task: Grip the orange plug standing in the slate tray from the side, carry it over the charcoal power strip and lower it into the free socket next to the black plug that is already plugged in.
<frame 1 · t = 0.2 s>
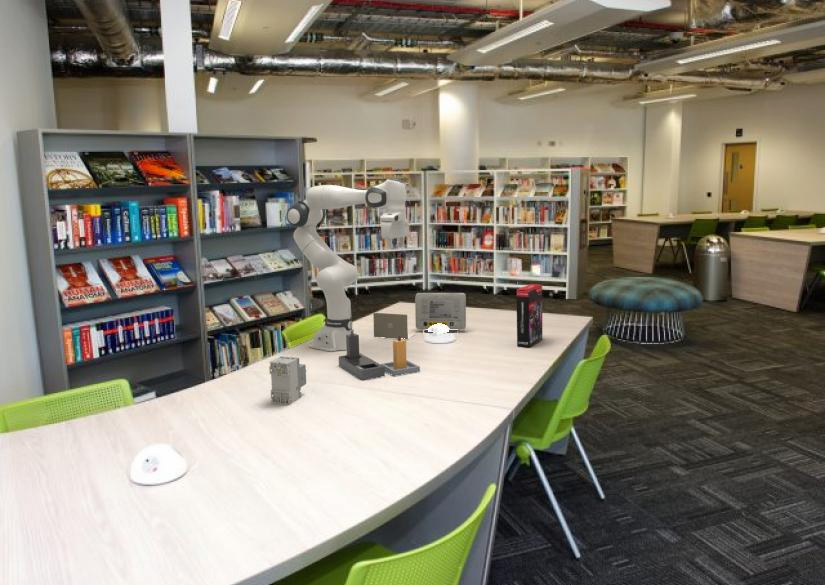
hand: (395, 248, 284), 48 cm above the table, tool pointing down, fingers open, 8 cm apart
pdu: (361, 370, 267), on the table
tray: (400, 370, 267), on the table
plug: (400, 368, 267), point 1 cm above the table, touching tray
laptop: (395, 336, 326), on the table
graphics card box: (529, 343, 306), on the table
circuit breaker: (290, 397, 237), on the table
network device: (440, 332, 332), on the table
twin plug: (353, 362, 274), point 1 cm above the table, touching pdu
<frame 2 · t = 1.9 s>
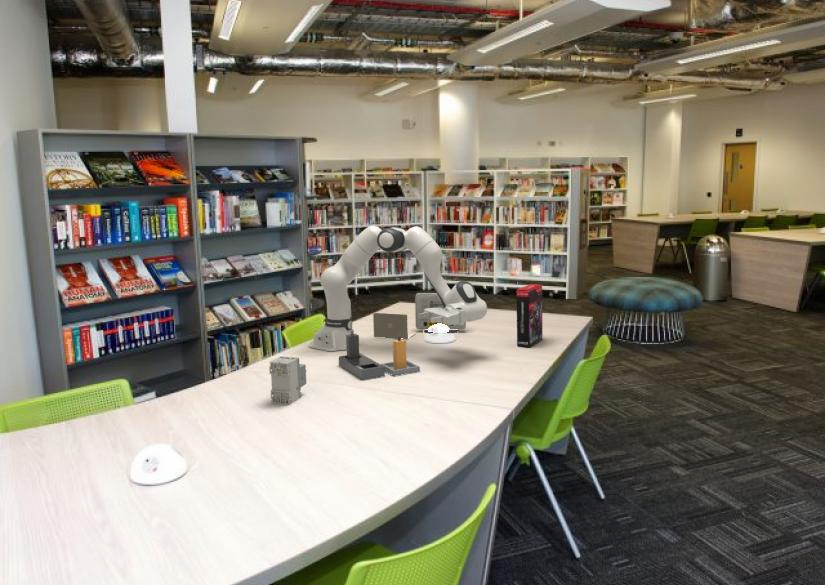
hand: (424, 318, 269), 21 cm above the table, tool horizontal, fingers open, 8 cm apart
nothing on the table moved.
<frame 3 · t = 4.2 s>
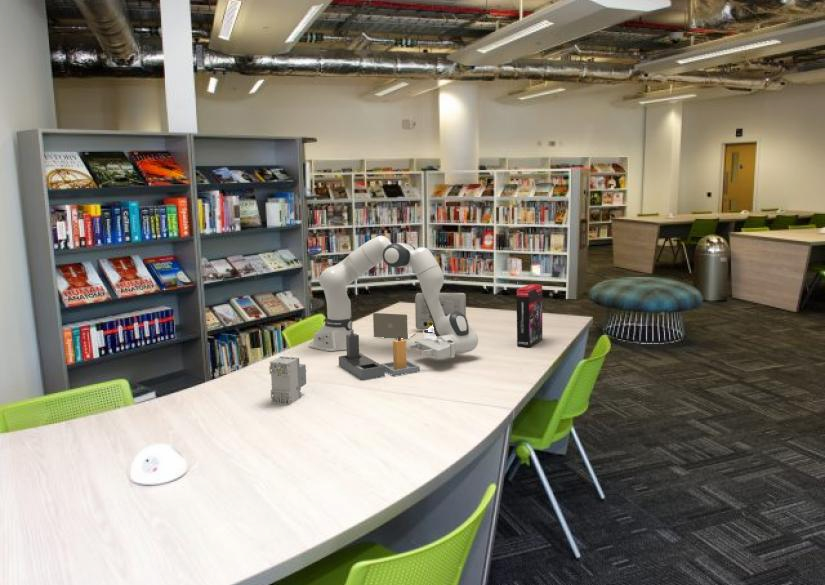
hand: (415, 350, 269), 7 cm above the table, tool horizontal, fingers open, 8 cm apart
nothing on the table moved.
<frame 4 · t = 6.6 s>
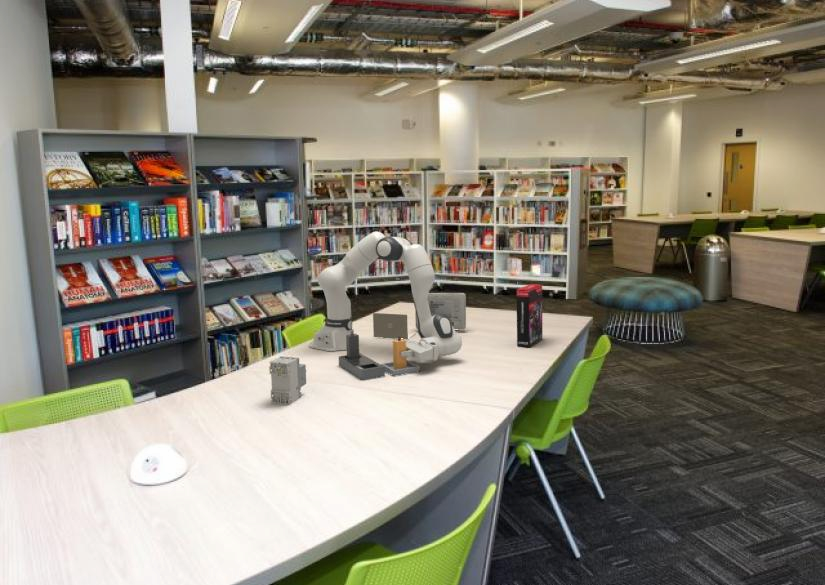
hand: (397, 352, 265), 8 cm above the table, tool horizontal, fingers closed on plug, 3 cm apart
plug: (400, 368, 267), point 1 cm above the table, touching gripper, tray
everything else where it was.
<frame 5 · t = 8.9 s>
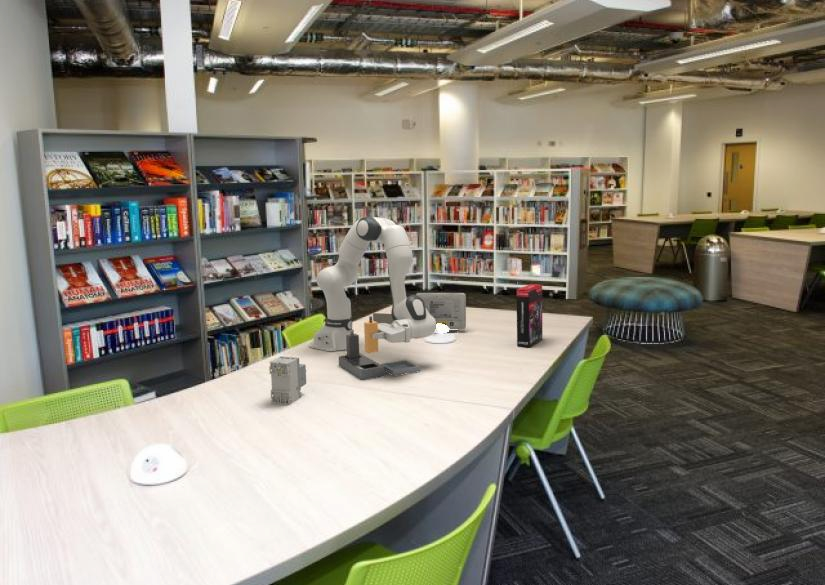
hand: (369, 334, 258), 17 cm above the table, tool horizontal, fingers closed on plug, 3 cm apart
plug: (371, 351, 259), point 10 cm above the table, touching gripper
everything else where it was.
when the fingers open (9 cm above the table, at t = 11.3 s): plug stays where it is, resting on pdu.
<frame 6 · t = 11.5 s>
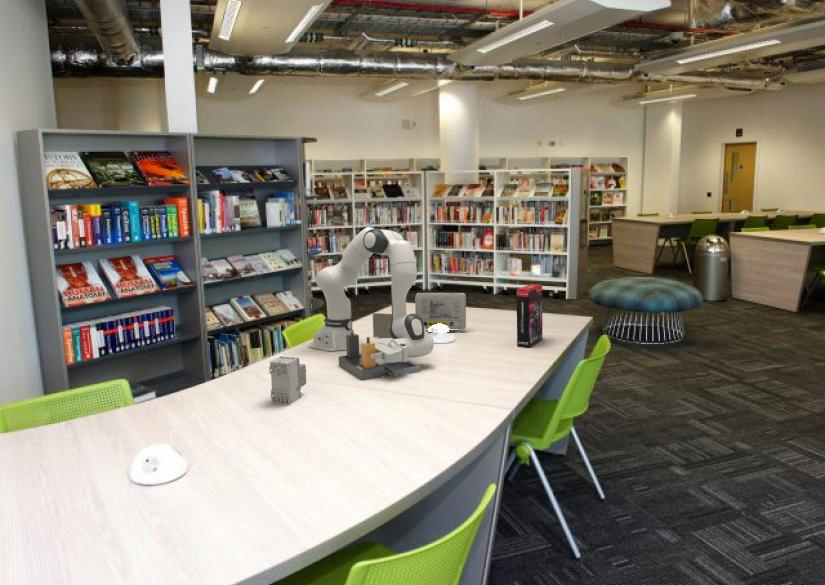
hand: (366, 354, 258), 9 cm above the table, tool horizontal, fingers open, 5 cm apart
plug: (369, 372, 260), point 2 cm above the table, touching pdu
everything else where it was.
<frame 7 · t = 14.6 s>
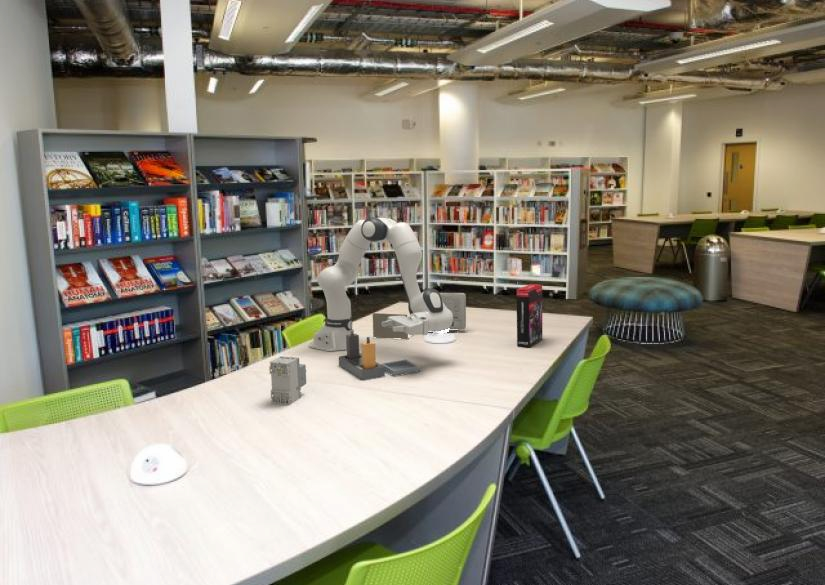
hand: (387, 326, 261), 19 cm above the table, tool horizontal, fingers open, 8 cm apart
nothing on the table moved.
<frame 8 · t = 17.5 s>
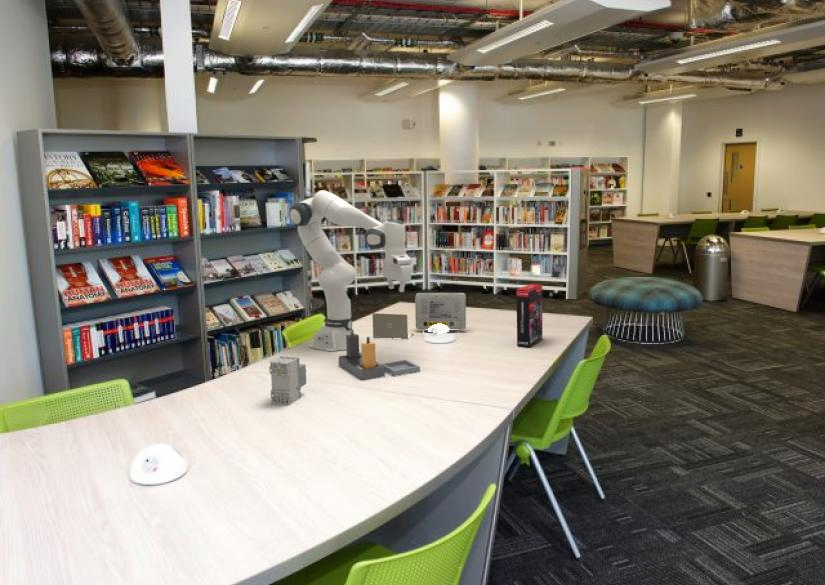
hand: (396, 290, 276), 31 cm above the table, tool pointing down, fingers open, 8 cm apart
nothing on the table moved.
at the end: plug 0.0 cm from the target spot on the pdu, point 1.5 cm above the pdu's base; plug tilted 0°; the gripper is holding nothing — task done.
